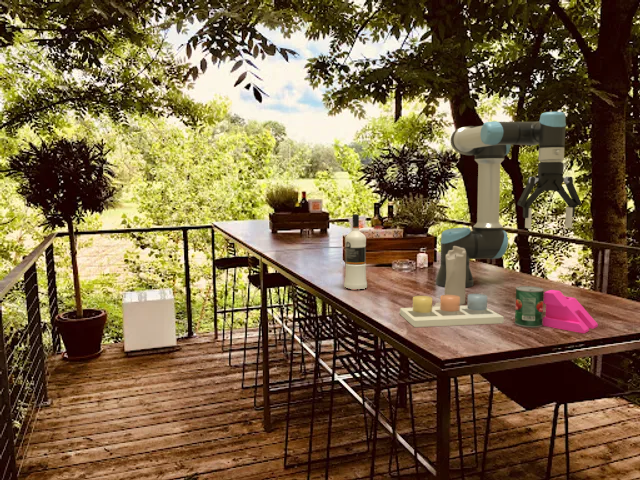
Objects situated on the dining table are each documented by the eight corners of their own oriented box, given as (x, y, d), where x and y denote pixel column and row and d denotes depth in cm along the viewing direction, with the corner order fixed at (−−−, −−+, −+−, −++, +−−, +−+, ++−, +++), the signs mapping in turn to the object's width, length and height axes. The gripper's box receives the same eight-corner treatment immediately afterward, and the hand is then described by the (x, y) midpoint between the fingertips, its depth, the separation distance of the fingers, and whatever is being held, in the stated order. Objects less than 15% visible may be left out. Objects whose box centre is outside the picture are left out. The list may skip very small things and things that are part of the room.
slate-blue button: (464, 306, 175) (464, 294, 175) (482, 305, 176) (482, 293, 176) (472, 310, 170) (472, 298, 169) (490, 309, 170) (490, 297, 170)
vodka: (371, 289, 218) (371, 214, 214) (351, 291, 213) (351, 215, 210) (359, 285, 226) (359, 213, 222) (340, 287, 222) (339, 214, 218)
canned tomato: (510, 321, 169) (511, 286, 167) (535, 320, 169) (536, 285, 168) (521, 328, 161) (522, 291, 160) (547, 327, 161) (548, 290, 160)
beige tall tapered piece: (428, 305, 190) (429, 248, 188) (452, 299, 199) (453, 245, 197) (445, 309, 185) (446, 250, 182) (469, 302, 193) (470, 246, 191)
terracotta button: (437, 307, 174) (437, 295, 174) (455, 306, 175) (455, 294, 175) (444, 311, 168) (444, 299, 168) (462, 311, 169) (463, 298, 169)
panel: (399, 314, 178) (399, 308, 178) (481, 310, 182) (481, 304, 182) (414, 327, 162) (414, 320, 162) (503, 323, 166) (503, 316, 166)
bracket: (542, 325, 163) (544, 292, 162) (557, 319, 170) (558, 287, 169) (584, 333, 155) (586, 298, 154) (597, 326, 162) (599, 292, 161)
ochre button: (410, 308, 173) (410, 296, 173) (428, 307, 174) (428, 295, 173) (416, 313, 167) (416, 300, 167) (434, 312, 168) (435, 299, 168)
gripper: (518, 161, 169) (516, 229, 172) (595, 161, 171) (591, 228, 174) (508, 162, 177) (506, 227, 179) (581, 161, 179) (578, 226, 181)
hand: (548, 227), depth 176 cm, fingers open, 13 cm apart
